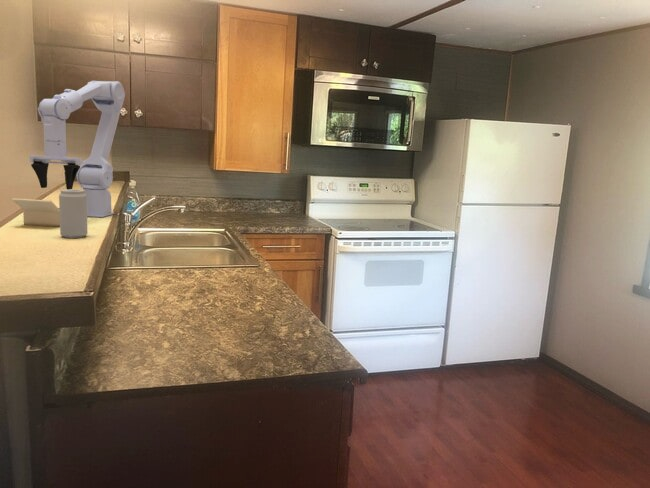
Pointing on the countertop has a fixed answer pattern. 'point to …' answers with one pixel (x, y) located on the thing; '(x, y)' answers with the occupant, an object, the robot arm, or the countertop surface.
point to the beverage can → (73, 213)
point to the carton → (41, 218)
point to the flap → (36, 205)
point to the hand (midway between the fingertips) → (56, 188)
